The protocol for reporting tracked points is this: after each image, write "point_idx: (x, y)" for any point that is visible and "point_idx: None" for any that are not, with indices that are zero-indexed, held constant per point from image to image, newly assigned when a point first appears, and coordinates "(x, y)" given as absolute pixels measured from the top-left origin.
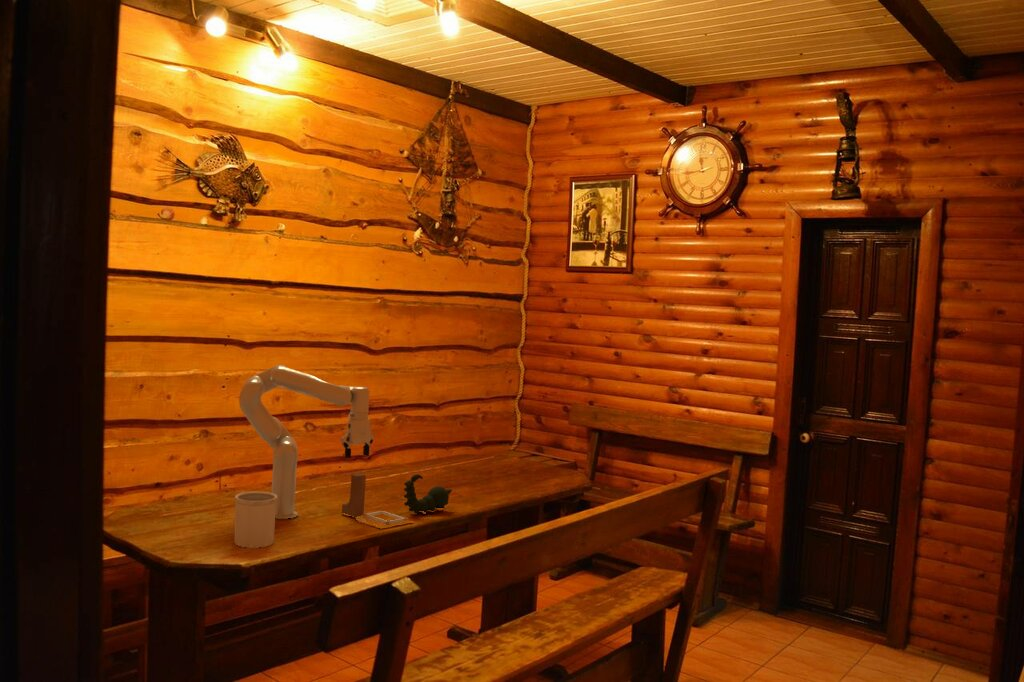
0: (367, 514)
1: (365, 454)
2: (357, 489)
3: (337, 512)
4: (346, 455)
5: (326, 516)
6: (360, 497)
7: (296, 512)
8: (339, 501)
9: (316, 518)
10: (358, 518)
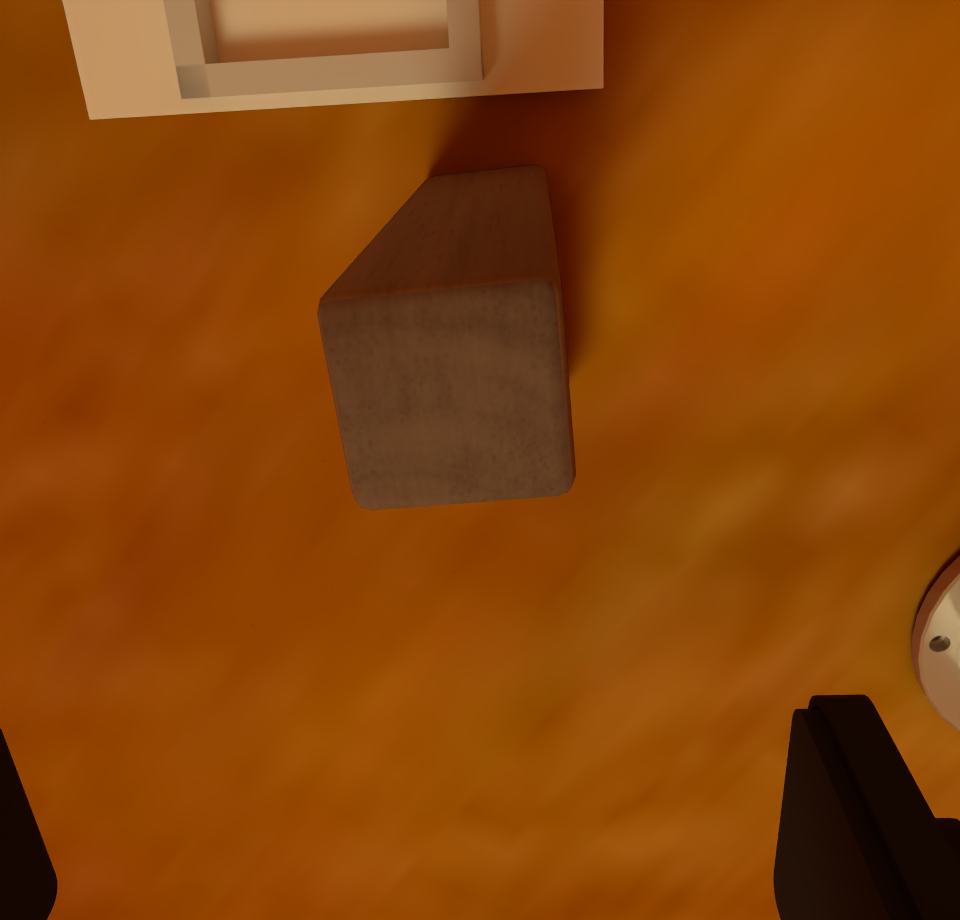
0: (462, 28)
1: (13, 821)
2: (547, 226)
3: None
4: (950, 841)
5: (736, 411)
6: (477, 205)
7: (956, 593)
8: (301, 757)
9: (873, 398)
10: (571, 71)
